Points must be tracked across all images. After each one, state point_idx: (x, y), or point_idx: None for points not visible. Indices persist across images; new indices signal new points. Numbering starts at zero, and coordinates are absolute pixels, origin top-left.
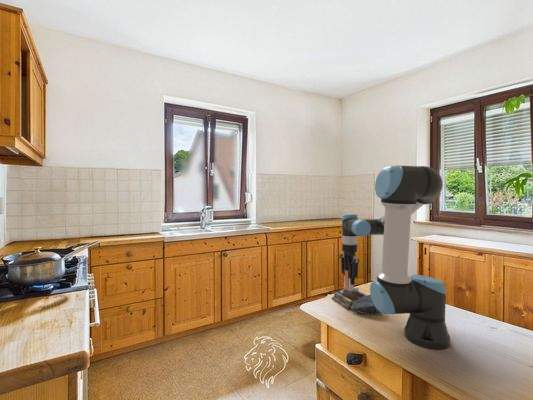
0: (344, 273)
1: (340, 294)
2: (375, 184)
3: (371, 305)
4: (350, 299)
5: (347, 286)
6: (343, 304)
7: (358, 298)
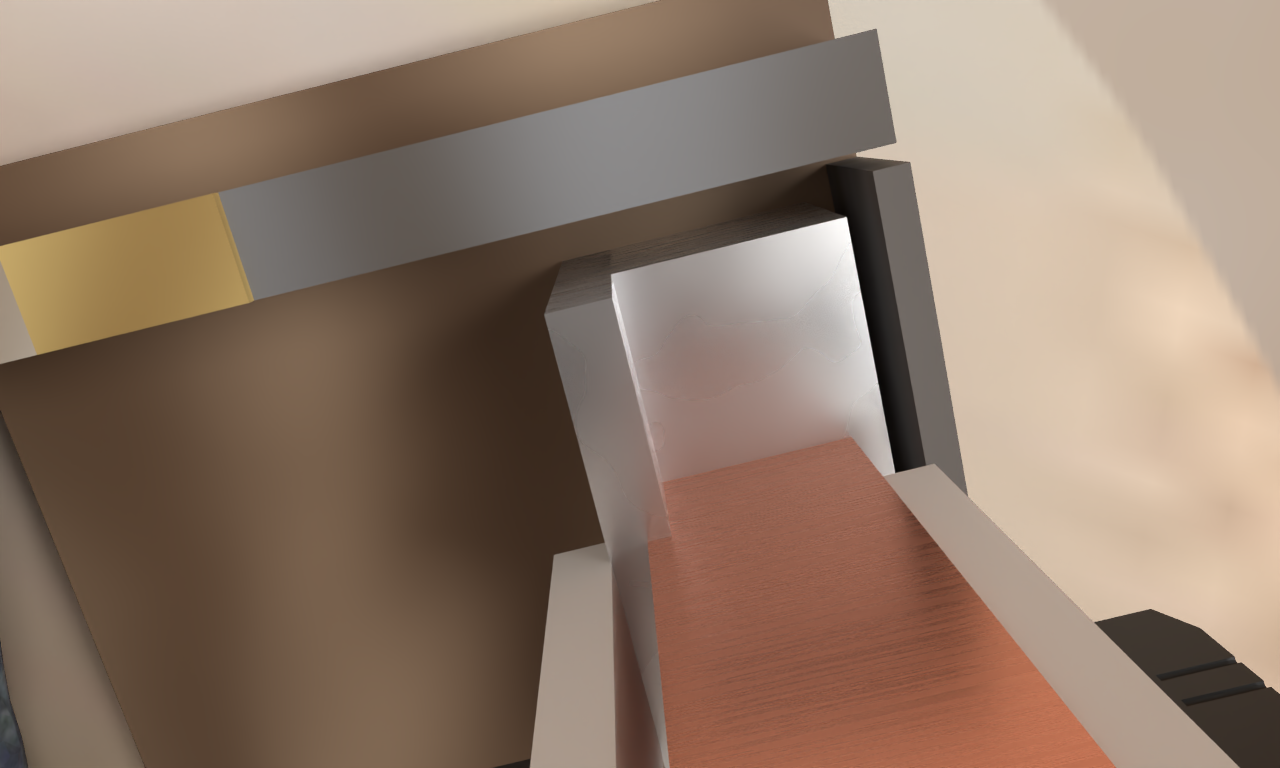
0: None
1: (577, 188)
2: None
3: None
4: (565, 483)
5: (687, 571)
6: (160, 140)
7: None
